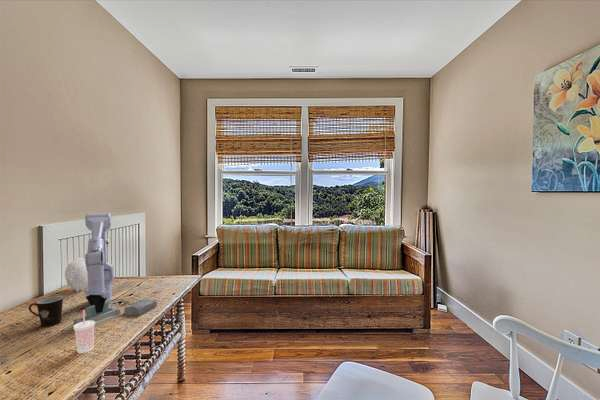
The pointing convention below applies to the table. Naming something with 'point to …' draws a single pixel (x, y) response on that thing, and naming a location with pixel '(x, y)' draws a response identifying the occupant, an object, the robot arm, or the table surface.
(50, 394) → the table surface
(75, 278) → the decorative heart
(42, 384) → the table surface
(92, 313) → the door panel
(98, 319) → the rectangular tray
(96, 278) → the robot arm
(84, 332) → the beverage cup
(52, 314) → the coffee mug
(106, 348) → the table surface
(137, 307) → the stone block
